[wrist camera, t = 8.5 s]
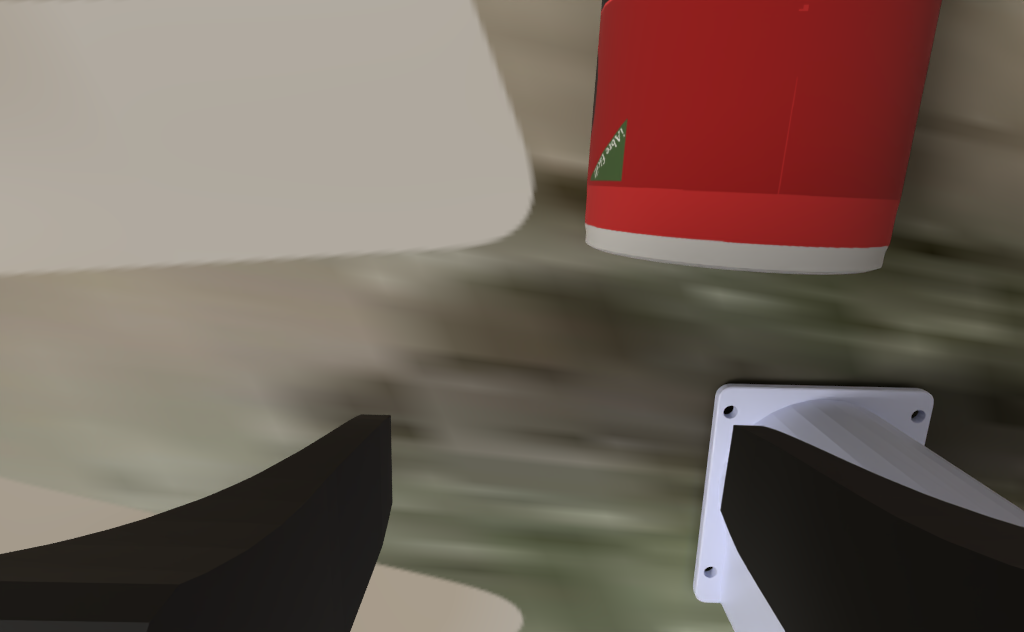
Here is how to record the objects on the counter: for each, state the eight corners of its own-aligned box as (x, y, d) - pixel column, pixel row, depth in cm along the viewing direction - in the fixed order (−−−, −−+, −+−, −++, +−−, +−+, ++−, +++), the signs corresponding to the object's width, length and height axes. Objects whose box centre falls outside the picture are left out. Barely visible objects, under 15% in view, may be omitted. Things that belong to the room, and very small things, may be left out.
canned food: (582, -285, 11) (549, 253, 14) (1096, -424, 8) (928, 290, 11) (643, -101, 18) (612, 233, 21) (933, -143, 15) (855, 252, 18)
